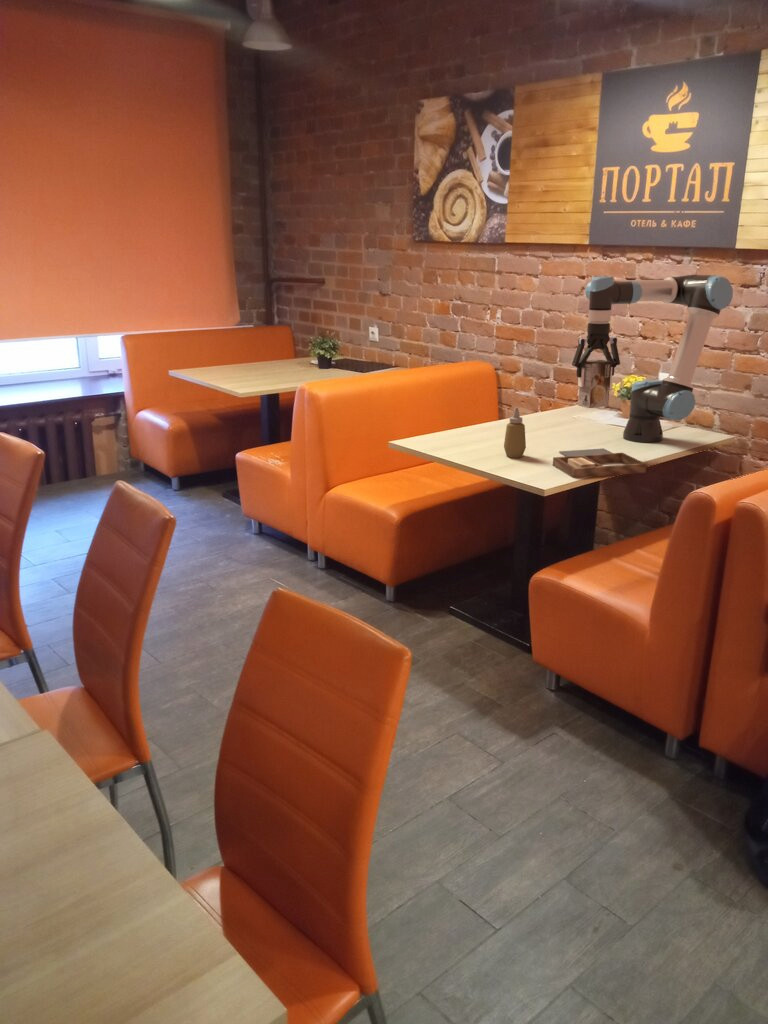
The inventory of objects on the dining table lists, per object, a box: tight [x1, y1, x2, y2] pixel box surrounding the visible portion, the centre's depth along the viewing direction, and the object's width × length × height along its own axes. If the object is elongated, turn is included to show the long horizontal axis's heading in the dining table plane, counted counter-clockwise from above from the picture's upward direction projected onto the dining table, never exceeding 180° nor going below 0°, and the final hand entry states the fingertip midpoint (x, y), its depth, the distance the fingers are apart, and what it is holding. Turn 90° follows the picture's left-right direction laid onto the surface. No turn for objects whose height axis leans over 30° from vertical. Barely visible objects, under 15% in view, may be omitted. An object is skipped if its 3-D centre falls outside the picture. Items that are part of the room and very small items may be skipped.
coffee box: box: [577, 359, 611, 409], centre depth 294 cm, size 9×6×16 cm
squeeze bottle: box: [503, 407, 527, 459], centre depth 299 cm, size 8×8×18 cm
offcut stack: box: [568, 458, 595, 468], centre depth 282 cm, size 6×10×4 cm, turn 17°
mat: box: [559, 448, 613, 457], centre depth 302 cm, size 18×13×1 cm
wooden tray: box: [552, 452, 647, 479], centre depth 284 cm, size 27×16×3 cm, turn 103°
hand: (594, 385), depth 294 cm, fingers closed on coffee box, 10 cm apart
